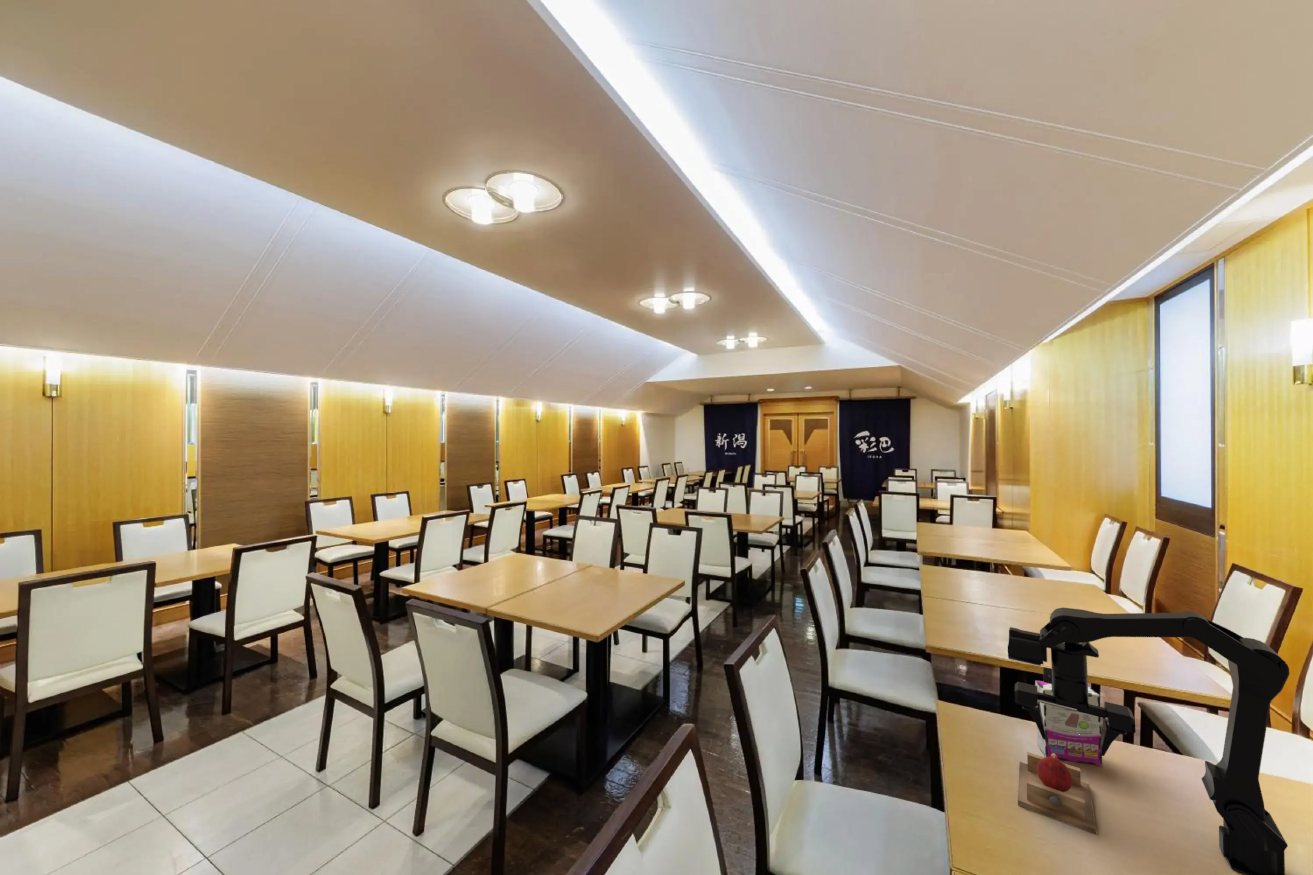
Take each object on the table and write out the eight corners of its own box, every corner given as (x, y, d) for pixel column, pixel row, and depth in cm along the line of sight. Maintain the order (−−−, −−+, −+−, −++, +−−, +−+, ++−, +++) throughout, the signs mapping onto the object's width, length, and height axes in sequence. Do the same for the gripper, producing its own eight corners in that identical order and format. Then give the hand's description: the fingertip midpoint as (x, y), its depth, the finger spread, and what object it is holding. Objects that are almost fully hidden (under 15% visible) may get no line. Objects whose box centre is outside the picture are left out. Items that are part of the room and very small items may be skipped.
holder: (1089, 788, 103) (1088, 767, 103) (1096, 834, 91) (1095, 810, 91) (1019, 765, 110) (1019, 746, 110) (1017, 804, 99) (1017, 783, 99)
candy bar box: (1090, 753, 114) (1089, 684, 115) (1103, 766, 110) (1101, 695, 110) (1035, 744, 118) (1034, 678, 118) (1045, 757, 113) (1044, 688, 113)
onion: (1078, 804, 97) (1079, 766, 97) (1046, 799, 98) (1047, 761, 98) (1061, 784, 103) (1061, 747, 103) (1030, 779, 104) (1031, 743, 104)
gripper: (1125, 668, 100) (1128, 743, 100) (1014, 647, 112) (1017, 713, 111) (1134, 690, 91) (1137, 772, 91) (1013, 665, 103) (1016, 737, 103)
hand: (1072, 746), depth 99 cm, fingers open, 9 cm apart
